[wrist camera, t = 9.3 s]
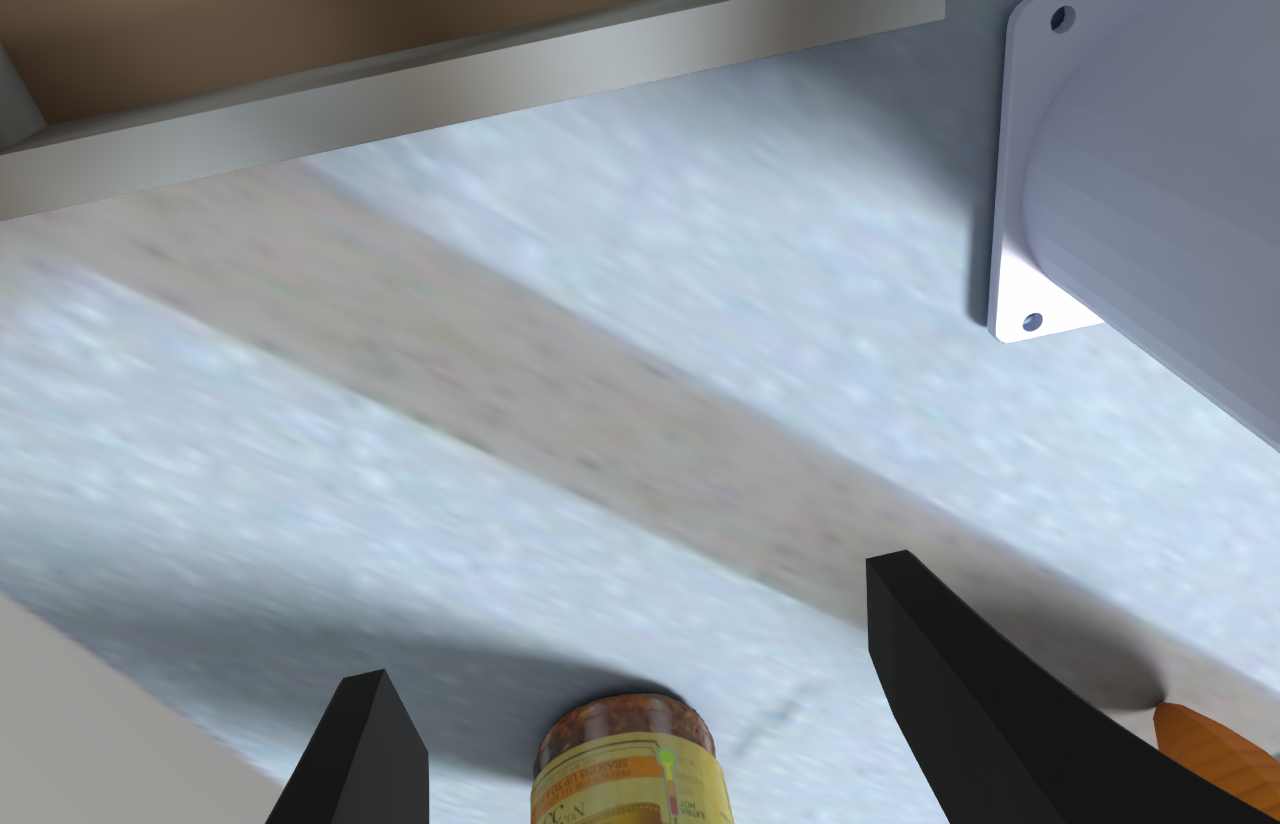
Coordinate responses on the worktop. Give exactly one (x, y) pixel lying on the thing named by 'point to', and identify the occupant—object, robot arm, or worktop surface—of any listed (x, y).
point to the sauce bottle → (629, 766)
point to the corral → (340, 74)
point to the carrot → (1219, 756)
